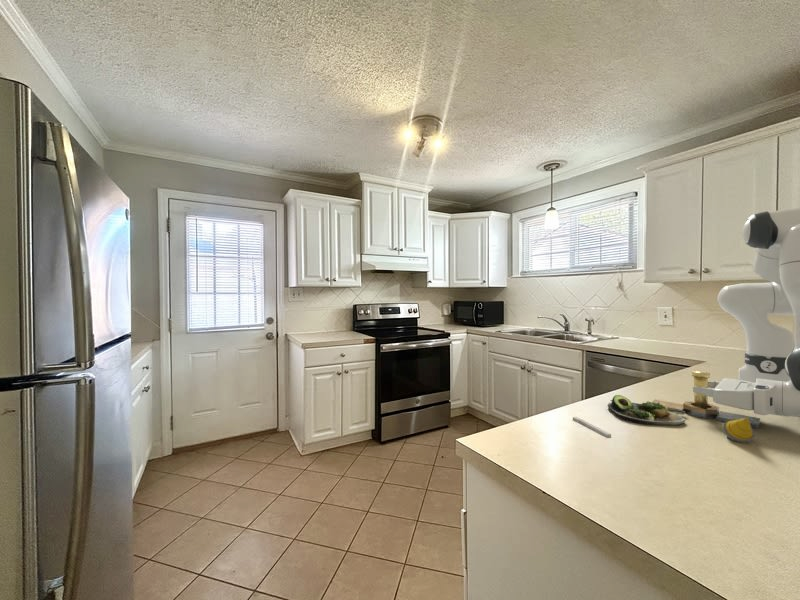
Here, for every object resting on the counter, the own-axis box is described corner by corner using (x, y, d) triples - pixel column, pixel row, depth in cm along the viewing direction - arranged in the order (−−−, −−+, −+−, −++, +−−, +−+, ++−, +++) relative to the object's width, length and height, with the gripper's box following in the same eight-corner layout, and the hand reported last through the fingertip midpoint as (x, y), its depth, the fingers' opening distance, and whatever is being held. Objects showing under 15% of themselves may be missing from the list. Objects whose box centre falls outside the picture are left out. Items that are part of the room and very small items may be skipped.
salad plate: (670, 409, 104) (670, 394, 104) (707, 430, 87) (707, 413, 87) (601, 404, 109) (601, 390, 109) (622, 424, 92) (622, 407, 92)
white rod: (611, 438, 83) (611, 434, 83) (607, 438, 83) (607, 434, 83) (576, 420, 95) (576, 416, 95) (572, 420, 95) (572, 417, 95)
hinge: (655, 402, 110) (655, 394, 110) (760, 421, 92) (760, 412, 92) (649, 406, 105) (648, 399, 105) (758, 428, 87) (758, 419, 87)
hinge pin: (693, 410, 101) (693, 370, 101) (711, 414, 98) (710, 372, 98) (690, 413, 99) (690, 372, 99) (709, 417, 96) (708, 374, 96)
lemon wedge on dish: (755, 441, 80) (771, 423, 74) (734, 451, 80) (749, 433, 74) (732, 422, 84) (746, 403, 78) (713, 431, 84) (725, 413, 78)
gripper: (768, 377, 95) (703, 370, 106) (763, 391, 82) (689, 381, 93) (768, 400, 95) (703, 390, 106) (763, 417, 82) (689, 403, 93)
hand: (696, 386), depth 99 cm, fingers open, 8 cm apart
